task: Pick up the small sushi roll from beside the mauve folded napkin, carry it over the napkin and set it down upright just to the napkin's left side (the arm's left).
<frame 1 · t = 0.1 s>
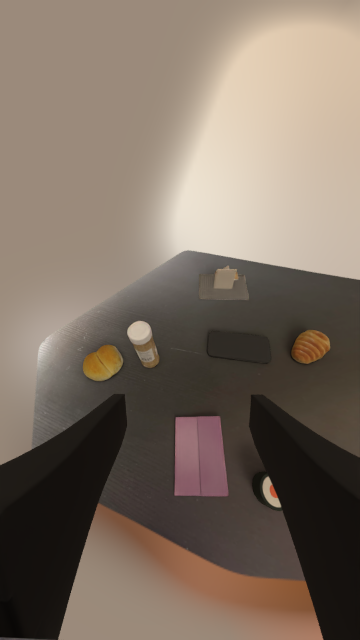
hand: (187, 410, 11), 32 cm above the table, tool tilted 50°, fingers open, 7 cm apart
phone: (237, 347, 49), on the table
architectural model: (222, 286, 62), on the table
napkin: (199, 452, 37), on the table
sushi roll: (265, 488, 33), on the table
spice jar: (150, 360, 48), on the table
bread roll: (105, 364, 48), on the table
pastry: (307, 350, 48), on the table
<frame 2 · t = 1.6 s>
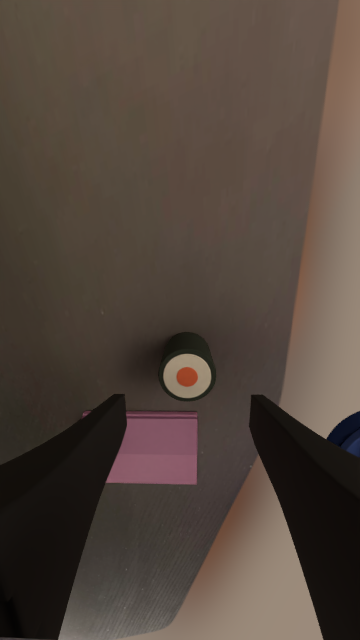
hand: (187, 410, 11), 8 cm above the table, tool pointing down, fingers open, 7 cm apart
napkin: (142, 446, 22), on the table
sushi roll: (186, 353, 19), on the table
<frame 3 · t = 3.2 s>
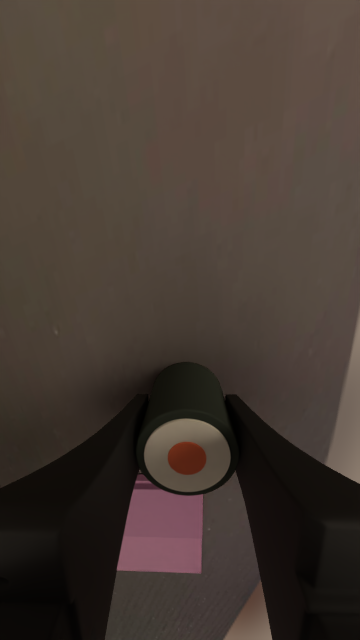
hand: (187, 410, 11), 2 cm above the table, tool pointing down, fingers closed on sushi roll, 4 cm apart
napkin: (123, 520, 15), on the table
sushi roll: (186, 393, 13), on the table, touching gripper
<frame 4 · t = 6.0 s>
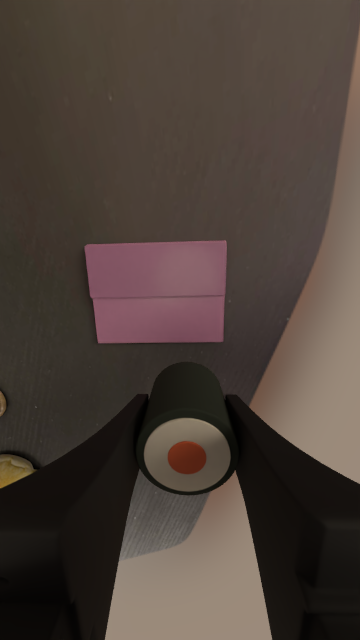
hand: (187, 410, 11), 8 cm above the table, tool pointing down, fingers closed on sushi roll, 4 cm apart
napkin: (158, 294, 18), on the table
sushi roll: (186, 393, 13), point 7 cm above the table, touching gripper
bread roll: (19, 479, 24), on the table
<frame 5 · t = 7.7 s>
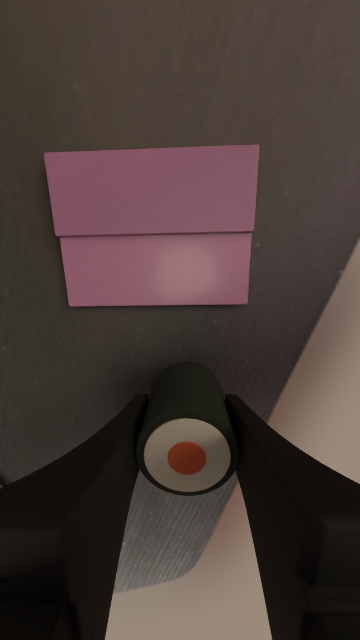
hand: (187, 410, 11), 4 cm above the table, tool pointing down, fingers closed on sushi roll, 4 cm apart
napkin: (155, 235, 13), on the table
sushi roll: (186, 393, 13), point 2 cm above the table, touching gripper
when the fingers open (2 cm above the table, at t = 8.9 s): sushi roll stays where it is, on the table.
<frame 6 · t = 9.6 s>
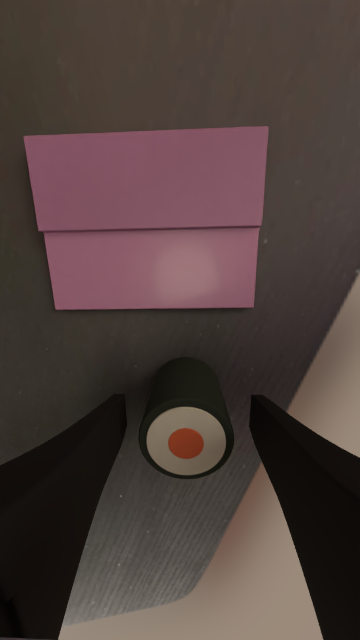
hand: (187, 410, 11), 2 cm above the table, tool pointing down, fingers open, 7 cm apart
napkin: (150, 230, 11), on the table
sushi roll: (186, 387, 13), on the table
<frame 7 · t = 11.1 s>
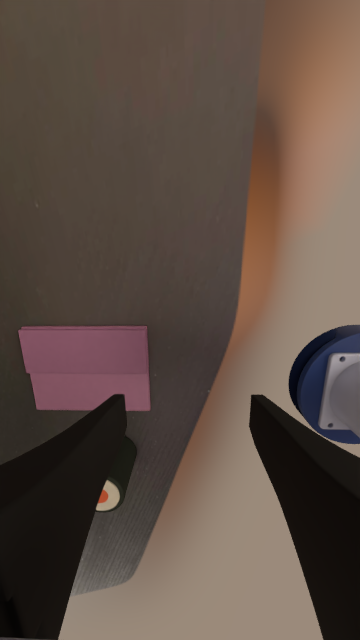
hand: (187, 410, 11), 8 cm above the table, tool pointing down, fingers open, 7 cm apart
napkin: (90, 368, 20), on the table
sushi roll: (117, 450, 22), on the table
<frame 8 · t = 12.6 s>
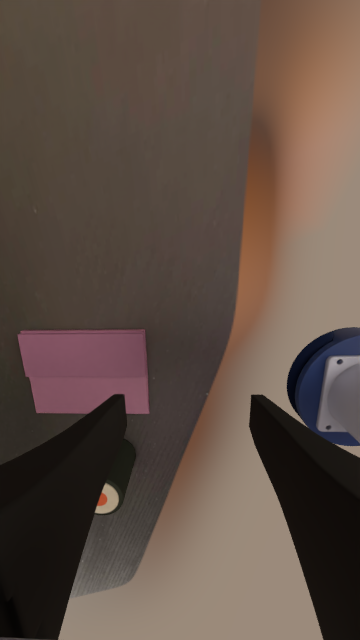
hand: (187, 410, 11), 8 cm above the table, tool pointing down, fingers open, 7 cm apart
napkin: (89, 371, 20), on the table
sushi roll: (116, 453, 22), on the table
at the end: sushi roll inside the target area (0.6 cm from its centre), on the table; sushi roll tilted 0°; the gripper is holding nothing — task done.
